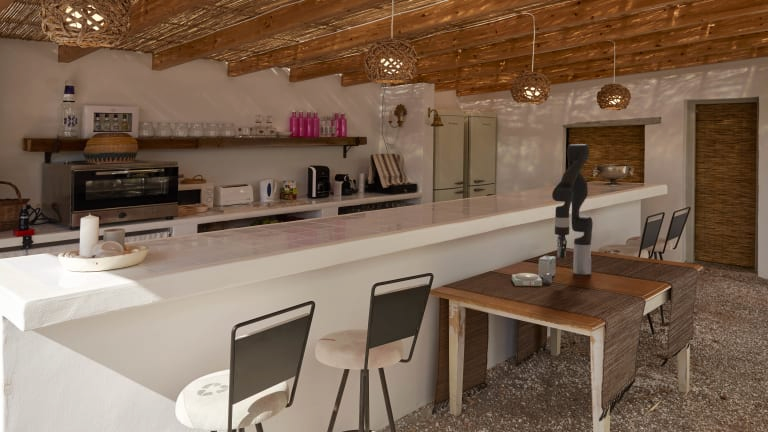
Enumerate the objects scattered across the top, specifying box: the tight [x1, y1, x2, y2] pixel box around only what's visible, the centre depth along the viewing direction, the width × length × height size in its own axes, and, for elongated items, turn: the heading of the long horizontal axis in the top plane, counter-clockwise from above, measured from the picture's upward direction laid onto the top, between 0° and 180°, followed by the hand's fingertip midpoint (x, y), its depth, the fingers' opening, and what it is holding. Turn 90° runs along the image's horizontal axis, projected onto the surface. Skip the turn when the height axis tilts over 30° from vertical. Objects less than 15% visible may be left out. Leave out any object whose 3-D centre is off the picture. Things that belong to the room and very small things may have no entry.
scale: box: [511, 272, 543, 287], centre depth 319 cm, size 14×14×4 cm
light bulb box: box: [538, 255, 557, 278], centre depth 335 cm, size 11×7×11 cm, turn 146°
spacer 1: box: [542, 273, 553, 285], centre depth 318 cm, size 4×4×5 cm
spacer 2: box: [556, 247, 567, 259], centre depth 316 cm, size 4×4×5 cm
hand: (561, 256), depth 316 cm, fingers closed on spacer 2, 4 cm apart
